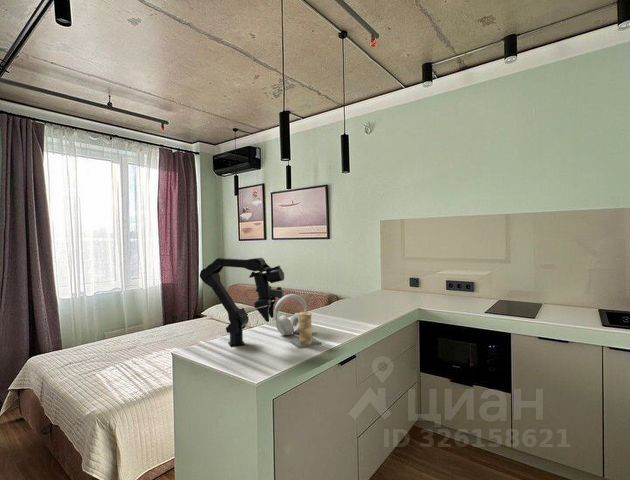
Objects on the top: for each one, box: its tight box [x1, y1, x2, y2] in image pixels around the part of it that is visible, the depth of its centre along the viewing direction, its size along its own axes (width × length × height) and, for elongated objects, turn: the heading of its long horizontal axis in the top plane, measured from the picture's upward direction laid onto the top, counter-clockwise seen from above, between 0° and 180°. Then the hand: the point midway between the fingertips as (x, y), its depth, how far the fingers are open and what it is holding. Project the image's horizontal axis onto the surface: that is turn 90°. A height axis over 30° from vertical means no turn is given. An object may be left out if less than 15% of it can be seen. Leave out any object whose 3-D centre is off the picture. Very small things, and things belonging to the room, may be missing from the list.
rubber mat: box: [289, 336, 322, 349], centre depth 148 cm, size 11×11×1 cm
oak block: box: [298, 311, 313, 344], centre depth 146 cm, size 5×5×13 cm
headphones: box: [273, 293, 308, 336], centre depth 163 cm, size 18×10×20 cm, turn 126°
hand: (270, 319), depth 144 cm, fingers open, 9 cm apart
